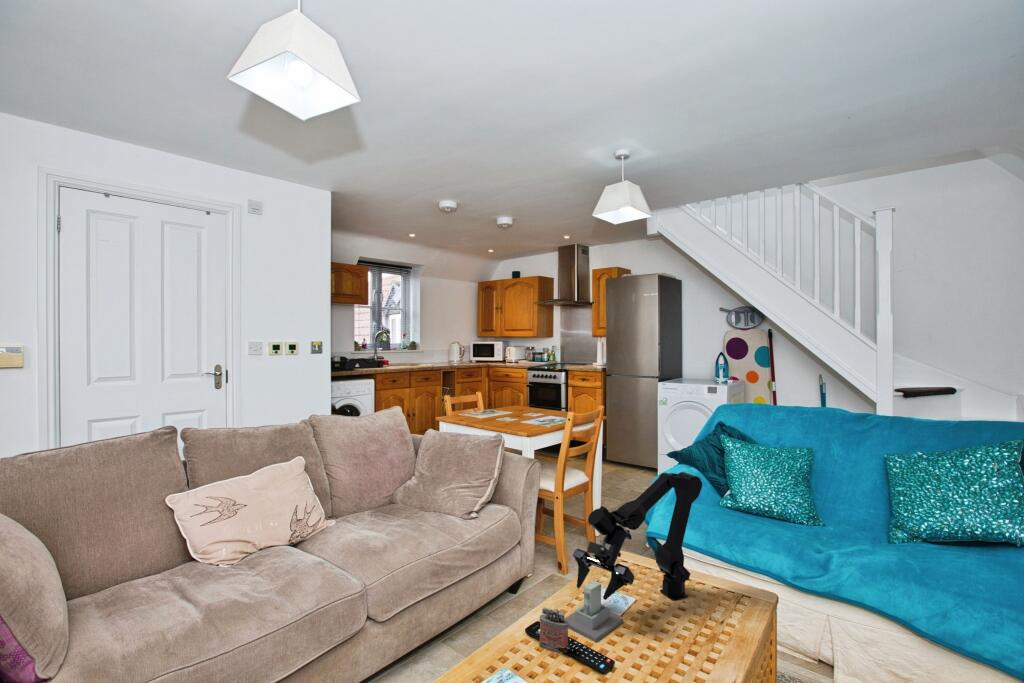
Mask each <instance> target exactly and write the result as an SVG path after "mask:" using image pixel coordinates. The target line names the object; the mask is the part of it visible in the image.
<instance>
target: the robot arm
mask: <svg viewBox="0 0 1024 683" xmlns="http://www.w3.org/2000/svg"><path fill="white" fill-rule="evenodd" d="M702 488H703V481H702V480H701V478H700V477H699V476H697V475H695V474H692V473H689V472H686V471H680V472H679V473H674V472H662V473H660V475H659V477H658V478H657V479H656V480H655V481H654V482H652V484H650V485H649V487H648V488H646V489H645V490H644V491H643V492H642V493H640V494H639V496H638V497H637V498H636V499H634V500H631V501H628V502H626V503H624V504H622V505H621V506H619V507H618V509H615V510H612V511H609V510H608V508H607V507H606V506H604V505H601V506H600V507H599V508H596V509H594V510H592V511H591V512H590V513H589V515H588V519H587V522H588V524H589V525H590V526H591V527H592V528H593V529H595V530H596V531H597V533H599V534H600V535H601V536H604V537H603V540H601V539H600V541H598V543H597V542H594V541H591V540H590V541H589V543H588V547H587V550H583V549H580V548H576V549H574V551H573V553H572V557H573V558H574V560H575V562H576V563H577V580H576V588H577V589H580V588H581V587H582V585H583V584H584V582H585V580H586V578H587V576H588V575H589V573H590V571H591V569H590V567H592V566H594V567H597V568H599V569H602V570H605V571H607V572H610V573H611V575H610V579H609V582H608V584H607V587H606V589H605V591H604V592H603V593H604V594H603V597H602V598H603V600H605V601H606V600H607V599H608V598H610V597H611V596H612V595H613V594H614V593H615V592H617V591H618V590H620V589H621V588H622V587H624V586H626V587H627V586H628V585H633V583H634V580H635V574H634V573H633V571H632V570H631V568H630V567H629V566H627V565H624V564H621V563H618V562H617V563H616V561H617V559H618V558H621V557H622V553H621V550H622V548H623V545H624V543H625V541H626V540H632V535H631V530H632V531H635V530H638V529H639V528H640V527H641V525H642V524H643V523H644V521H645V520H646V517H647V513H648V512H649V511H650V509H652V508H653V507H654V506H655V505H656V504H657V503H658V502H659V501H660V500H661V499H662V498H663V497H664V496H665V495H666V494H667V493H668V492H669V491H670V490H672V489H674V493H675V497H676V498H675V503H674V507H673V508H674V509H673V512H672V516H671V520H670V524H669V528H668V533H667V538H666V541H665V542H664V543H663V544H662V545H661V544H659V545H657V547H656V548H657V549H656V553H655V555H654V558H655V564H657V566H658V568H659V571H660V572H662V573H664V574H663V578H662V589H659V592H660V593H661V594H662V595H664V596H666V598H669V599H670V600H672V601H677V600H681V599H685V598H689V594H688V593H686V592H685V591H686V581H689V580H690V577H691V572H690V571H689V570H688V569H687V567H685V565H684V564H685V555H684V550H683V543H684V538H685V534H686V530H687V526H688V521H689V517H690V513H691V510H692V509H691V508H692V505H693V503H694V502H695V501H696V500H697V499H698V498H699V496H700V495H701V494H700V493H701V491H702ZM625 528H627V529H625ZM590 554H591V555H590ZM592 556H593V557H592Z"/></svg>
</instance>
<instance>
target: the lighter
mask: <svg viewBox="0 0 1024 683" xmlns="http://www.w3.org/2000/svg"><path fill="white" fill-rule="evenodd" d="M541 613H542V614H541V615H539V622H540V623H539V625H540V626H539V642H538V644H539V647H540V648H541V649H543V650H546V651H549V652H552V653H555V654H556V653H557V654H561V653H560V651H559V650H558V648H566V647H567V646H568V647H569V628H568V626H569V621H567V620H565V619H564V618H565V612H562V611H559V609H557V608H554V609H552V608H548V607H543V608H541Z"/></svg>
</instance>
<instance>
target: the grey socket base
mask: <svg viewBox="0 0 1024 683" xmlns="http://www.w3.org/2000/svg"><path fill="white" fill-rule="evenodd" d="M564 619H565V620H567V621H569V626H568V630H571V631H573V632H574V633H575V632H576V634H579V635H581V636H583V637H585V638H587V639H588V640H590V641H592V642H594V643H596V642H598V641H599V640H601V639H602V638H603V637H605V636H607V634H609V633H610V632H612V630H614V629H616V628H617V627H618V626H619V625H621V624H623V623H624V618H623V617H620V616H619V615H616V614H614V613H612V612H610V606H607V605H604V604H602V603H601V611H600V612H598V613H597V614H595V615H594V616H592V617H591V616H589V615H587V614H585V613H584V605H582V606H581V607H579V608H577V609H576V610H575V611H574V612H573V613H570V614H569V615H568V616H566V617H564Z"/></svg>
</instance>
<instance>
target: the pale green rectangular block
mask: <svg viewBox="0 0 1024 683" xmlns="http://www.w3.org/2000/svg"><path fill="white" fill-rule="evenodd" d="M601 604H602V583H601V582H598V581H596V580H593V581H591V582H589V583H588V584H586V585H584V586H583V606H584V613H585V614H587V615H589V616H591V617H592V616H594V615H595V614H597V613H598V612H600V611H601Z"/></svg>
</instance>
